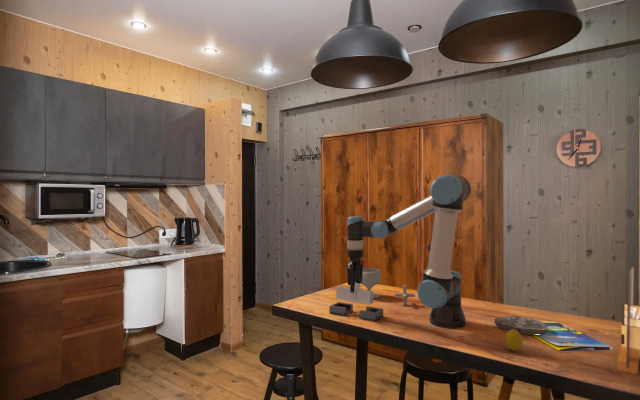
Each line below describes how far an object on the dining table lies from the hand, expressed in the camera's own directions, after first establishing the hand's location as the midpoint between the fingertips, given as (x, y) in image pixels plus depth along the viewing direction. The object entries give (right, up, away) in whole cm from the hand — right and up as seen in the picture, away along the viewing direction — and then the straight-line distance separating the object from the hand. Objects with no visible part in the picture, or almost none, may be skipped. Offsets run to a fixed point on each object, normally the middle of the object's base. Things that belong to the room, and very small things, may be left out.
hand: (355, 297), depth 180 cm
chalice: (+11, -8, +33) cm, 36 cm away
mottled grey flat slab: (+67, -8, -21) cm, 71 cm away
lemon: (+52, -8, -45) cm, 70 cm away
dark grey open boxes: (0, -8, 0) cm, 8 cm away
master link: (0, -1, 0) cm, 2 cm away
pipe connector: (+27, -8, +16) cm, 33 cm away
